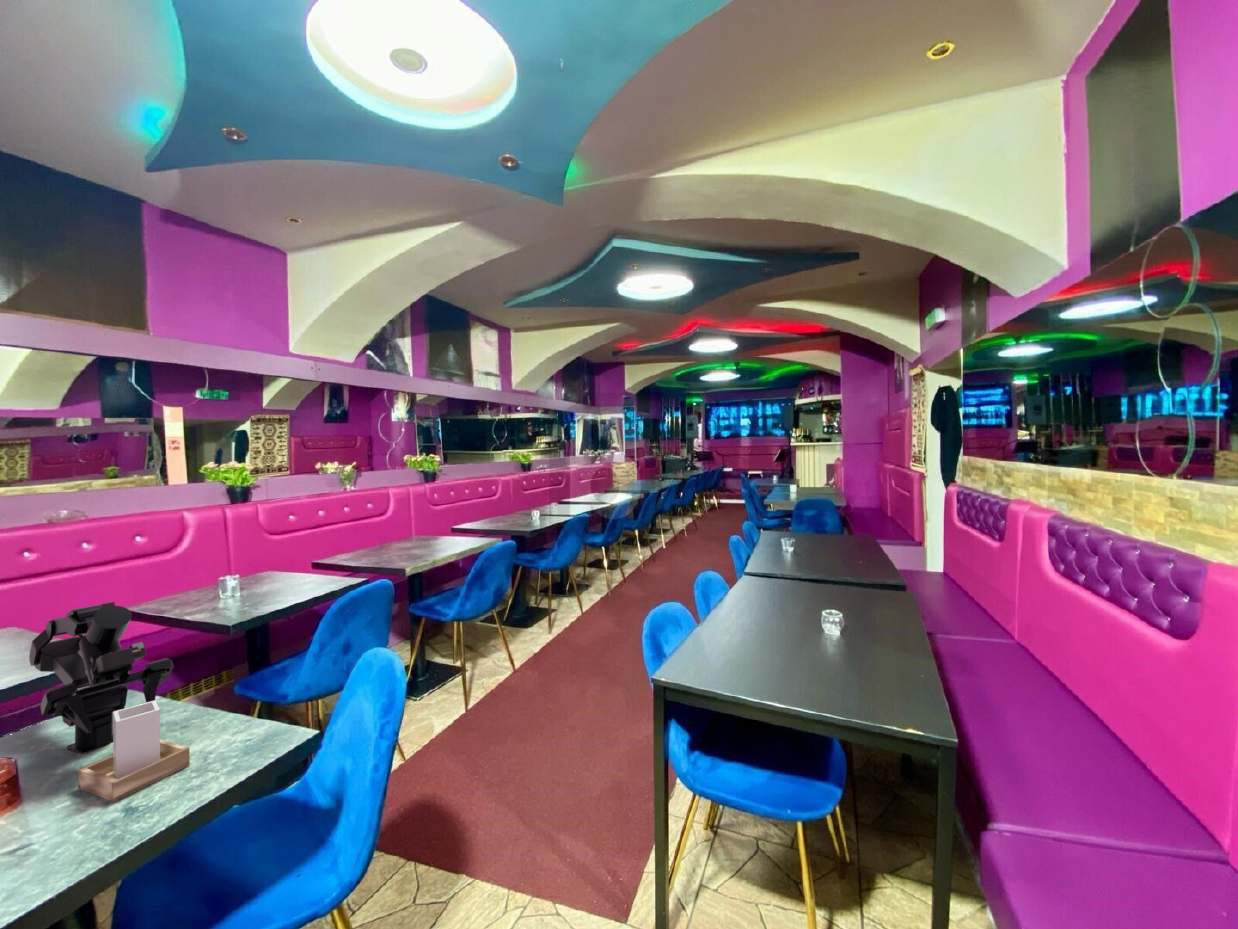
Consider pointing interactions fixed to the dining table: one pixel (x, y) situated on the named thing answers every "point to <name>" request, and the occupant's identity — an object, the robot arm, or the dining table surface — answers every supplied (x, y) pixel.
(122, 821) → the dining table surface
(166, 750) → the tray
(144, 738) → the white square vase
